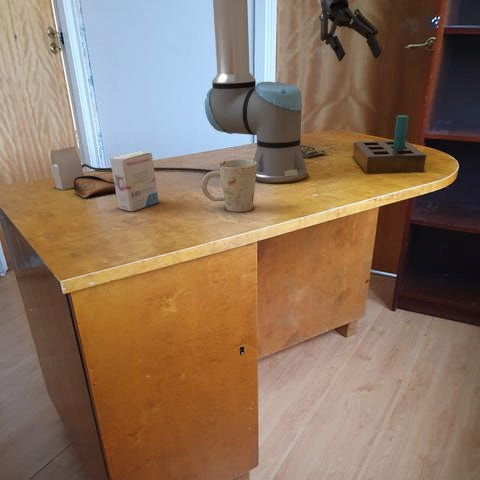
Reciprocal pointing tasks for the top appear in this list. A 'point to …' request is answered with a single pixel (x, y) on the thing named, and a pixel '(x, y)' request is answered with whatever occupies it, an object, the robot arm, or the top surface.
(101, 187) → the sunglasses case
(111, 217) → the top surface
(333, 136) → the top surface
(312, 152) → the keyboard
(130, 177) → the ink box
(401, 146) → the peg
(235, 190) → the mug
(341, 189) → the top surface
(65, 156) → the grey box
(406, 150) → the peg board
